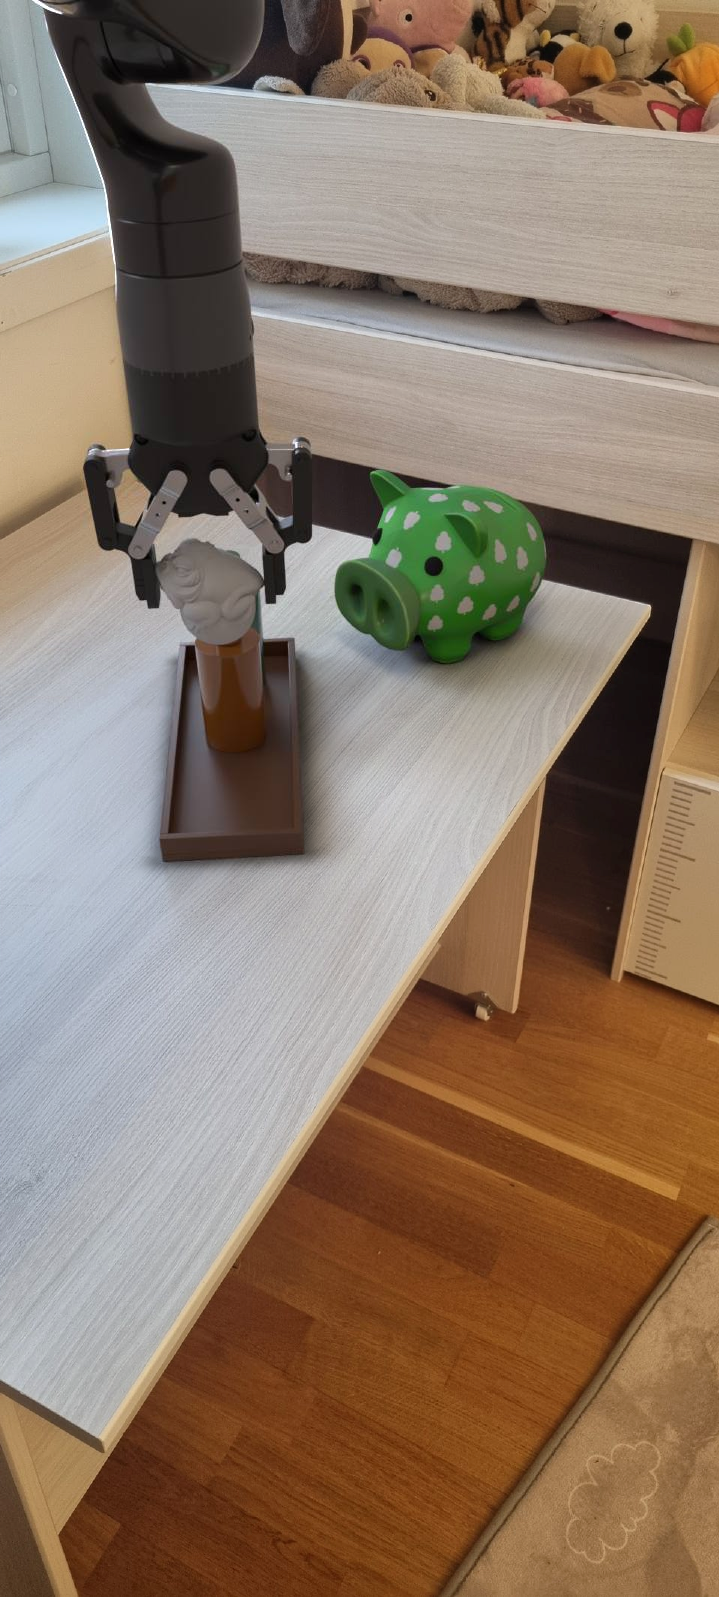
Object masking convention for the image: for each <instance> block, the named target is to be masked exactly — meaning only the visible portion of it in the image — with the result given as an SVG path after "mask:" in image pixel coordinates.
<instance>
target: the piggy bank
mask: <svg viewBox="0 0 719 1597" xmlns="http://www.w3.org/2000/svg"><path fill="white" fill-rule="evenodd" d="M369 478H370V482H371V485H372V487H373V489H374V492H375V494H376V495H377V497H378V499H379V501H380V504H381V506H382V509H383V512H382V514H381V517H380V520H379V523H378V525H377V528H376V529H375V530H374V531H373V533H372V535H371V539H372V540H371V541H372V545H371V548H370V551H369V554H368V557H359V558H355V559H350V560H345V561H343V562H342V563H341V564H340V565H339V566H338V567H337V569H336V572H335V575H334V576H335V577H334V588H333V589H334V590H333V591H334V592H333V593H334V599H335V604H336V605H337V606H336V607H337V609H338V610H339V612H340V614H341V615H342V617H343V618H344V619H345V620H346V622H348V623H349V624H350V626H352V627H353V628H354V629H356V631H358V632H360V633H362V634H364V635H369V636H371V637H372V638H373V639H374V641H375V642H376V643H378V644H379V645H380V646H382V647H383V648H385V649H388V650H391V651H395V652H397V651H398V652H399V651H404V650H405V649H407V647H409V645H410V644H412V642H413V641H414V639H415V638H416V637H417V636H419V637H420V639H421V640H422V644H423V648H424V650H425V651H426V653H427V654H428V656H430V658H431V659H432V660H434V661H436V662H437V663H441V664H451V663H455V662H459V661H460V660H463V659H464V658H465V656H466V655H467V654H468V653H469V652H470V650H471V645H472V639H473V637H474V635H476V633H479V634H480V636H481V637H483V638H484V639H487V640H490V641H494V642H498V641H501V640H504V639H506V638H508V637H511V636H512V635H513V634H515V633H516V632H517V630H518V629H519V628H520V626H521V625H522V623H523V620H524V616H525V612H526V610H527V608H528V605H529V604H530V603H531V601H532V600H533V599H534V598H535V596H536V594H537V592H538V591H539V588H540V587H541V584H542V582H543V579H544V575H545V571H546V566H547V549H546V542H545V539H544V538H545V537H544V533H543V531H542V528H541V525H540V524H539V522H538V520H537V518H536V517H535V515H534V514H533V513H532V511H531V510H530V509H528V508H527V507H526V506H525V505H524V504H523V503H522V502H520V501H519V500H517V499H515V497H513V496H511V495H509V494H507V493H506V492H502V491H499V490H496V489H494V488H490V487H483V486H477V485H468V484H456V485H452V486H449V487H444V488H443V487H410V486H409V485H407V484H406V483H405V482H404V481H403V480H401V479H400V478H399V477H398V476H396V475H395V474H393V473H391V472H389V471H387V470H385V469H376V470H373V471H371V472H370V474H369Z"/></svg>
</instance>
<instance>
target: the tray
mask: <svg viewBox="0 0 719 1597" xmlns="http://www.w3.org/2000/svg"><path fill="white" fill-rule="evenodd" d="M264 652H265V666H266V684H265V686H264V687H263V688H264V701H265V715H266V729H267V735H266V738H265V740H264V741H263V742H262V743H261V744H260V745H259V746H257V747H255V748H253V749H251V750H248V751H244V752H237V753H230V752H223V751H219V750H216V749H214V748H213V747H211V746H210V745H209V744H208V743H207V741H206V738H205V729H204V720H203V711H202V703H201V694H200V685H199V676H198V667H197V658H196V650H195V641H186V642H183V641H182V642H179V649H178V655H177V656H178V657H177V667H176V675H175V676H176V677H175V686H174V694H173V695H174V696H173V705H172V706H173V707H172V715H171V723H170V725H171V726H170V733H169V743H168V744H169V746H168V752H167V764H166V773H165V780H164V782H165V783H164V792H163V802H162V809H161V821H160V828H159V830H160V831H159V838H158V839H159V846H160V852H161V859H162V862H175V861H177V862H178V861H194V860H195V861H197V860H214V859H215V860H216V859H232V858H233V859H234V858H253V857H273V856H274V857H275V856H290V855H293V856H294V855H304V854H305V847H304V844H305V843H304V824H303V801H302V800H303V799H302V798H303V797H302V779H301V778H302V777H301V776H302V775H301V754H300V752H301V750H300V731H299V729H300V727H299V726H300V725H299V707H298V706H299V704H298V684H297V683H298V682H297V661H296V660H297V659H296V656H297V655H296V639H295V637H280V638H278V637H277V638H275V637H274V638H264Z"/></svg>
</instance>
